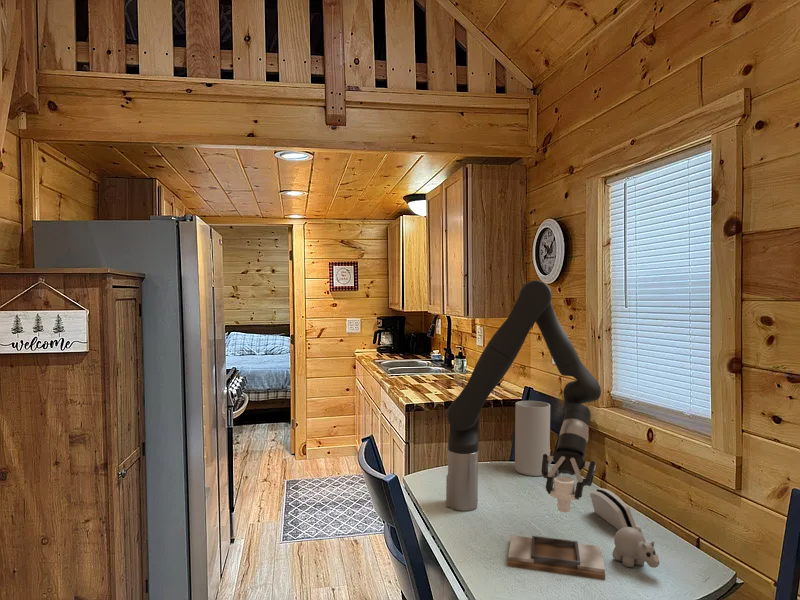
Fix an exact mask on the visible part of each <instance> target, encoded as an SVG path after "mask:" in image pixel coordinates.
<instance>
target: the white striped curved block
mask: <svg viewBox="0 0 800 600" xmlns="http://www.w3.org/2000/svg"><path fill="white" fill-rule="evenodd" d="M589 495H590V499H591V503H592V507H593V510H594V513H595V514H597V515H598V516H600V517H601V518H602V519H603V520H605V521H606V522H607V523H608V524H610V525H611V526H613V527H614V528H615V529H617V531H618V530H620V529H621V528H624V527H632V528H635V529H637V530H638V531H639V532H641V533H642V534H643V531H642V528H641V527H640V526H638V525H637V524H636V522H635V519H634V517H633V514H632V511H631V509H630V507H629V506H628V504H626V503H625V501H623V500H622V499H621V498H620V497H619V496H618V495H617V494H616V493H614V492H612V491H611V490H609V489H607V488H603V487H601V488H597V489H596V490H592V491H591V492H590V493H589Z"/></svg>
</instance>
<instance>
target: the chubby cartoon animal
mask: <svg viewBox="0 0 800 600" xmlns="http://www.w3.org/2000/svg"><path fill="white" fill-rule="evenodd" d="M613 541H614V546H615V547H614V548H613V551H612V558H613V559H614V560H615V561H619V562H620V561H621V562H622V565H623V566H625V567H626V568H633V567H634V565H637V566H643V565H644V564H645V562H646V564H647V565H648V567H650V568H653V569H654V568H658V567H659V566H660V559H659V555H658V554H657V553H656V548H655V541H652V542H650V543H648V542H647V541H646V538H645V536H644V535H643V532H642V533H641V532H639V531H638V530H637V529H635V528H632V527H624V528H621V529H620V530H618V529H617V531H616V533H615V534H614V540H613Z"/></svg>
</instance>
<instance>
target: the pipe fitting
mask: <svg viewBox="0 0 800 600" xmlns="http://www.w3.org/2000/svg"><path fill="white" fill-rule="evenodd" d="M575 484H576V482H575V479H574V478H572V477H569V476H565V475H563V476H562V475H559V476H557V477H555V478H554V484H553V489H552V490H551V492H550V494H549V495H550V496H552V497H554V498H556V499H557V504H556V505H557V511H559V512H561V513H570V512H571V506H572V505H571V503H572V502H571V501H576V500H577V499H576V498H575V490H576V485H575Z"/></svg>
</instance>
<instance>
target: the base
mask: <svg viewBox="0 0 800 600" xmlns="http://www.w3.org/2000/svg"><path fill="white" fill-rule="evenodd" d="M507 566H508V567H514V568H521V569H529V570H536V571H543V572H550V573H558V574H564V575H565V574H566V575H572V576H579V577H587V578H592V579H600V580H606V568H605V564H604V559H603V555H602V550H601V546H600V545H593V544H585V543H578V541H577V540H570V539H562V538H554V537H553V538H552V537H544V536H537V535H531V537H530V536H529V537H527V536H520V535H513V534H511V535H510V541H509V548H508V555H507Z"/></svg>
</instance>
